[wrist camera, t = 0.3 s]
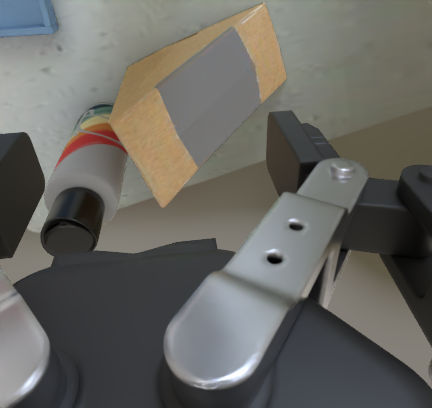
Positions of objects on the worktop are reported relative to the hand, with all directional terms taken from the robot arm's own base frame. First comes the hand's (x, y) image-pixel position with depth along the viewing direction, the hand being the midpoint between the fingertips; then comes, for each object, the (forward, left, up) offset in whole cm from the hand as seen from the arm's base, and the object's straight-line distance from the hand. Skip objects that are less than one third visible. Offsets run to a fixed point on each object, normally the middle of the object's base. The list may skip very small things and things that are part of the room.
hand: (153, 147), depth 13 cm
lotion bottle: (+11, -8, -29) cm, 32 cm away
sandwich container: (+6, +4, -29) cm, 30 cm away
